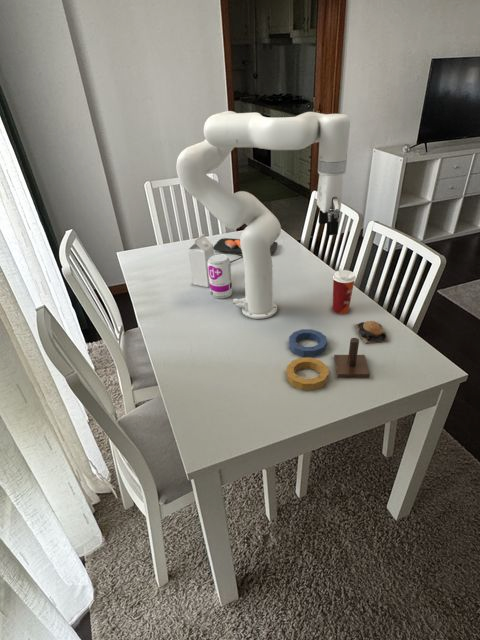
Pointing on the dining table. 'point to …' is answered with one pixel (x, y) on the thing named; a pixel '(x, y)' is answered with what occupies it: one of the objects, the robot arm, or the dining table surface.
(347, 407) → the dining table surface
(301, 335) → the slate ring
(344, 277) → the paper cup
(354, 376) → the stand
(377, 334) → the bun on tray
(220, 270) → the supplement can
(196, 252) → the milk carton
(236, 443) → the dining table surface
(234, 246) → the sushi plate
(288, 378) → the brass ring
